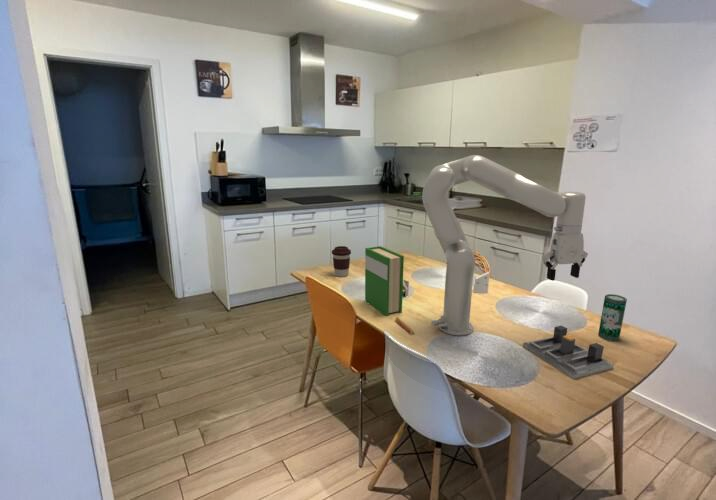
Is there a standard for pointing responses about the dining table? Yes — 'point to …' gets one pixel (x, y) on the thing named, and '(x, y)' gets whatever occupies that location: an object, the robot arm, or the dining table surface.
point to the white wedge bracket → (481, 283)
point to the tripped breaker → (567, 345)
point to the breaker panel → (569, 355)
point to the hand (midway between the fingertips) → (562, 278)
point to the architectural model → (405, 287)
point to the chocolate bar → (404, 326)
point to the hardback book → (384, 279)
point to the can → (612, 317)
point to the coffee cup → (341, 261)
